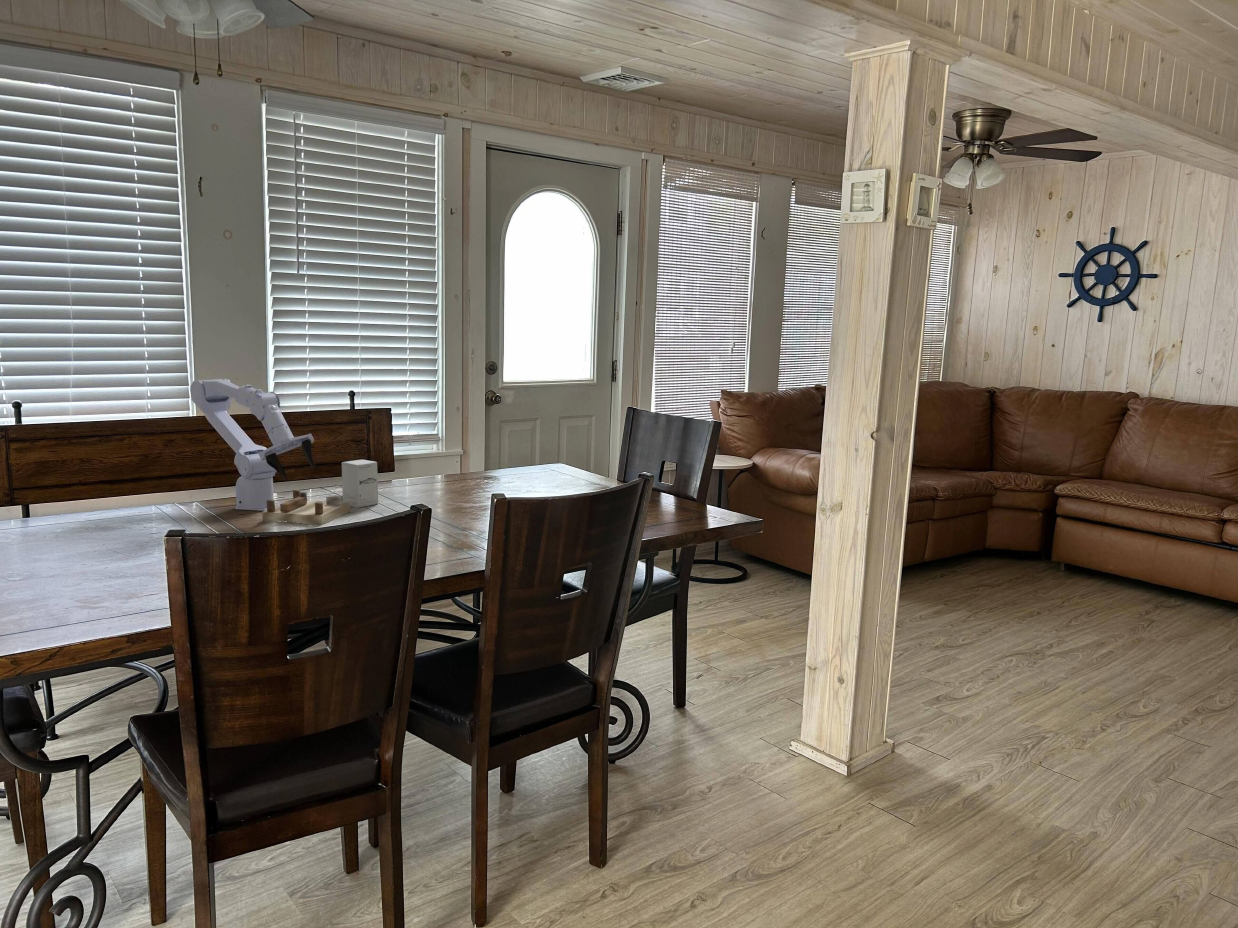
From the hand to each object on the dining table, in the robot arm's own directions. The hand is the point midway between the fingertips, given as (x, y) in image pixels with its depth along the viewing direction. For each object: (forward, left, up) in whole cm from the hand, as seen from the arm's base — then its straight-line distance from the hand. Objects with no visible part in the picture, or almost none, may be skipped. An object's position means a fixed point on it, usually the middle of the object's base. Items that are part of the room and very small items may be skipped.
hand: (299, 472), depth 244 cm
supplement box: (+8, +19, -13) cm, 24 cm away
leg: (-2, 0, -10) cm, 10 cm away
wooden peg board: (+1, +2, -12) cm, 12 cm away
